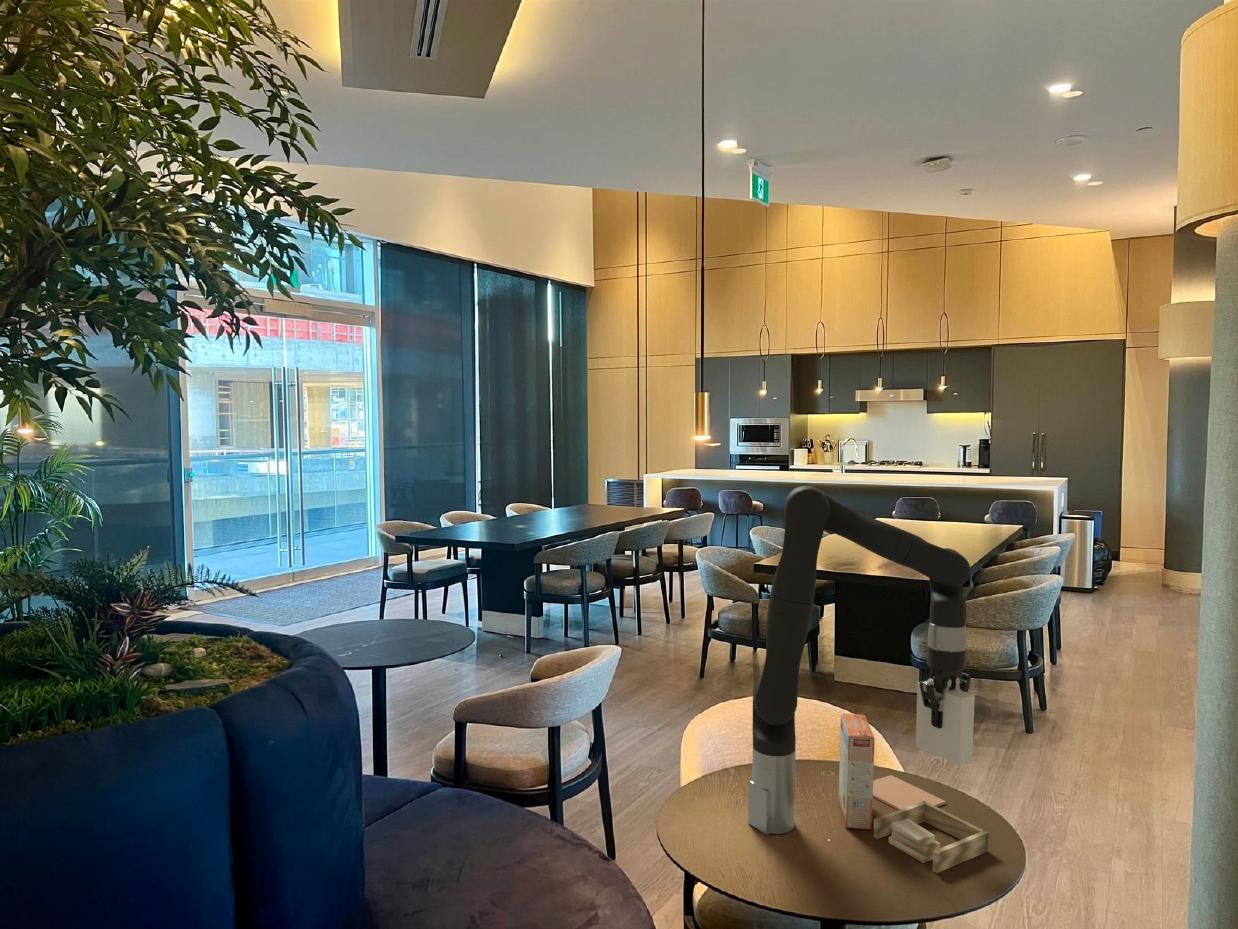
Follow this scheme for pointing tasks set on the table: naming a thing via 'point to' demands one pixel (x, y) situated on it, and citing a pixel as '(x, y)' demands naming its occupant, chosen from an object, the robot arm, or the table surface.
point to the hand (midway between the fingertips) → (944, 724)
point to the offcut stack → (913, 840)
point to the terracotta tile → (901, 793)
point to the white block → (947, 727)
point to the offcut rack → (950, 855)
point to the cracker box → (856, 771)
